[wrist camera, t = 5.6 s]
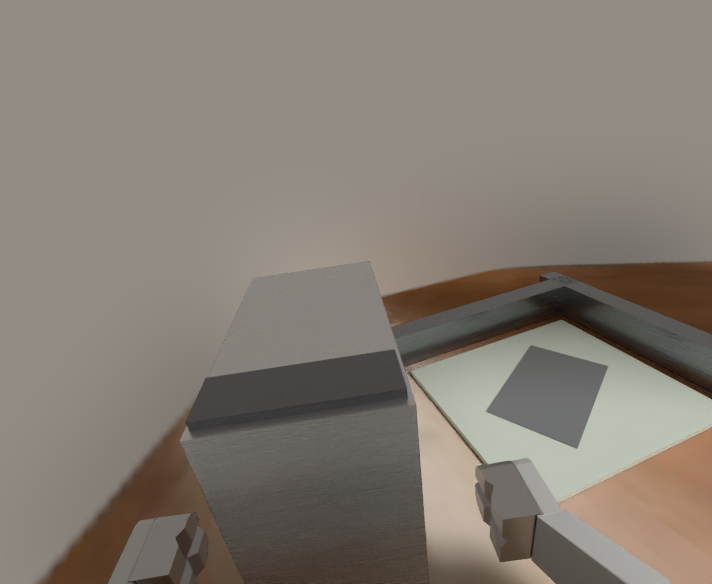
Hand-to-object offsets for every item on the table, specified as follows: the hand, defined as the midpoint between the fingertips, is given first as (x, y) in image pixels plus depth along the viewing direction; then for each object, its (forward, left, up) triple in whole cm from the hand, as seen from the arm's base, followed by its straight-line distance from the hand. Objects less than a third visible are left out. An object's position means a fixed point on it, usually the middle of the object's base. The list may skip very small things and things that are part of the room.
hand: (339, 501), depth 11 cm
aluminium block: (0, -1, -7) cm, 7 cm away
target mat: (-14, -6, -7) cm, 17 cm away
